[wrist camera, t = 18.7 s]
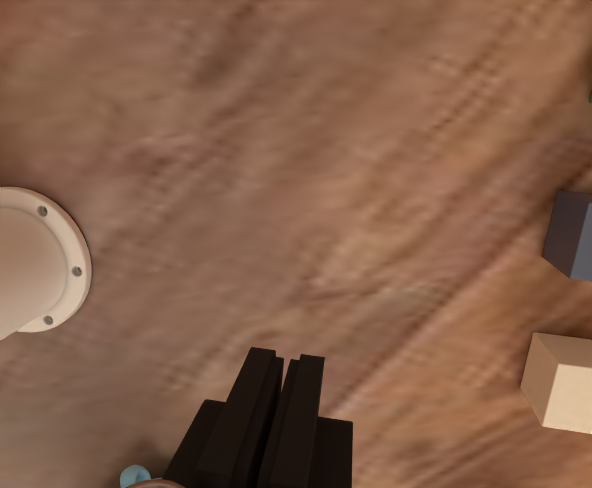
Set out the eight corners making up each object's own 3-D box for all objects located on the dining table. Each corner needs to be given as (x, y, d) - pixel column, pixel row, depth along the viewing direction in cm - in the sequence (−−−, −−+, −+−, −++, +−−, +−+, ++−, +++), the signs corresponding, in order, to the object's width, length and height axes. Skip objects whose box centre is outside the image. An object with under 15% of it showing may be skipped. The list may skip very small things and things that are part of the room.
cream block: (519, 388, 39) (541, 427, 34) (533, 331, 38) (558, 363, 33) (584, 397, 38) (616, 438, 34) (600, 340, 37) (636, 374, 32)
